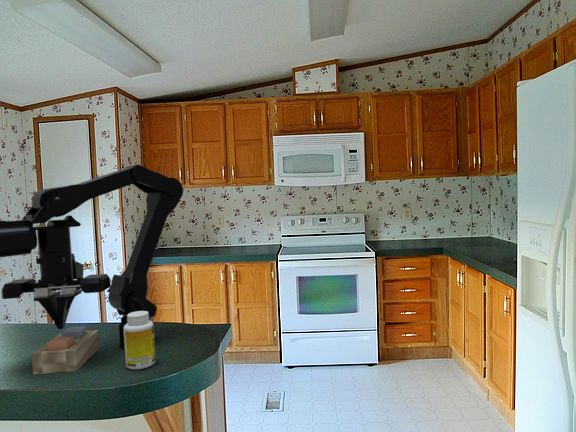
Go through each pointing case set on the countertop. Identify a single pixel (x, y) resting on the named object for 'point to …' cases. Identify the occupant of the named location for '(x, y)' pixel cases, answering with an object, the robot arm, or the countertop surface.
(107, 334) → the countertop surface
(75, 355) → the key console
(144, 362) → the supplement bottle
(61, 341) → the key terracotta
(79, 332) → the light blue square block
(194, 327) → the countertop surface
